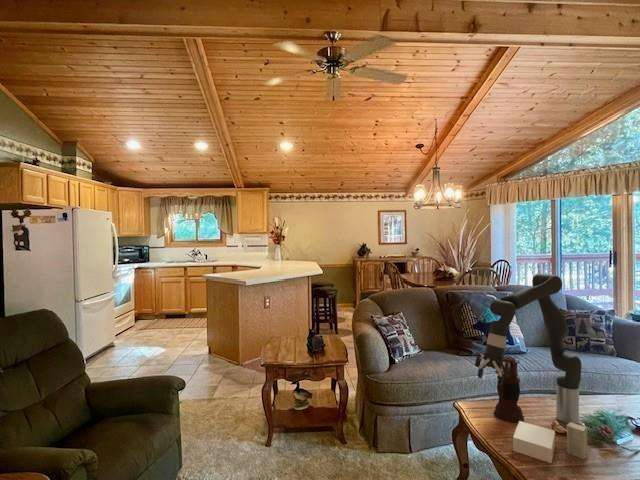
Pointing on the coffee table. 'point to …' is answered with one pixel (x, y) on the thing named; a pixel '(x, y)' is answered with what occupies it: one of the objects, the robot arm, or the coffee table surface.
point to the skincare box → (577, 440)
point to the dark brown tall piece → (509, 395)
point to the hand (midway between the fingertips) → (489, 381)
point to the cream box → (534, 441)
